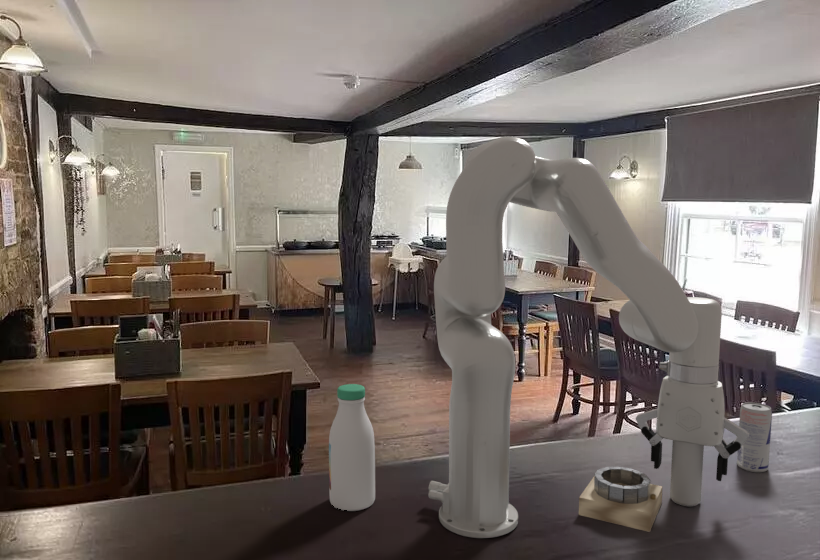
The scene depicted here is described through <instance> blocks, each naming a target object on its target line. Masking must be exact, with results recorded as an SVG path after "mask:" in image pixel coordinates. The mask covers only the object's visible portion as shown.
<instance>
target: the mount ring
mask: <svg viewBox="0 0 820 560" xmlns="http://www.w3.org/2000/svg"><path fill="white" fill-rule="evenodd" d="M594 476H595V477H594ZM594 476H593V477H594V490H595V491H596V493H597V494H598V495H599V496H601V497H603V498H605V499H607V500H609V501H613V502H618V503H622V504H623V503H624V504H637V503H641V502H644V501H647V500H648V498H649V496H650V484H651V482H652V481H651V479H650V477H649V476H648V475H647V474H646V473H644V472H642V471H640V470H637V469H633V468H631V467H630V468H629V467H624V466H605V467H601V468H598V469H597V470H596V472H595V473H594ZM612 483H622V484H627V485H631V486H622V485H617V484H612Z"/></svg>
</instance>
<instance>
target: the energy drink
mask: <svg viewBox="0 0 820 560" xmlns="http://www.w3.org/2000/svg"><path fill="white" fill-rule="evenodd" d="M772 421H773V412H772V407H771V406H769V405H767V404H763V403H760V402H751V401H749V402H743V403H741V406H740V409H739V423H738V424H739V425H738V426H740V427H741V428H743V429H744V430H746V431H748V433H749V436H748V438H747V440H746V441H745V442H744V444H743V445H742V446H741V448H740V449H739V450H738V451H736V452H737V455H736V464H737V466H738V467H739V468H740V469H742V470H744V471H747V472H752V473H765V472H766V471H768V470H769V467H770V465H769V463H770V452H771V451H770V450H771V435H772V423H773V422H772Z"/></svg>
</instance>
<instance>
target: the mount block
mask: <svg viewBox="0 0 820 560" xmlns="http://www.w3.org/2000/svg"><path fill="white" fill-rule="evenodd" d="M594 477H595V475H593V477H592V479H590V482H589V483H588V484H587V486H586V487H585V488H584V490H583V491H582V493H581V494H580V495H579V498H578V516H582V517H585V518H590V519H594V520H599V521H603V522H607V523H609V524H611V523H612V524H615V525H620V526H623V527H627V528H631V529H635V530H640V531H643V532H648V533H650V532H651V531H652V527H653V525H654V523H655V521H656V518H657V516H658V513H659V512H660V511H659V510H660V508H661V507H662V504H663V485H662V486H661V485H658V484H652V483H650V496H649V498H648V500H647V501H644V502H641V503H637V504H624V503H623V504H622V503H618V502H613V501H609V500H607V499H605V498H603V497H601V496H599V495H598V494H597V493H596V491H595V490H594ZM612 484H617V485H622V486H631V485H627V484H622V483H612Z"/></svg>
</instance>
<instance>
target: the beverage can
mask: <svg viewBox="0 0 820 560" xmlns="http://www.w3.org/2000/svg"><path fill="white" fill-rule="evenodd" d="M671 445H672V448H671V469H670V470H671V471H670V485H669V486H670V488H669V497H670V499H671V500H672V502H674V503H676V504H677V505H680V506H684V507H696V506H698V505H699V504H700V503H701V500H702V488H703V486H702V484H703V483H702V482H703V469H704V468H703V467H704V464H703V463H704V452H705V451H704V448H705V446H703V445H697V444H691V443H686V442H680V441H674V440H672V444H671Z"/></svg>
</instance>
